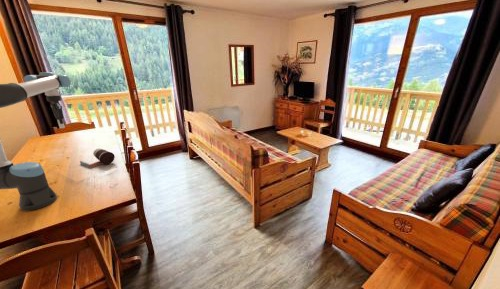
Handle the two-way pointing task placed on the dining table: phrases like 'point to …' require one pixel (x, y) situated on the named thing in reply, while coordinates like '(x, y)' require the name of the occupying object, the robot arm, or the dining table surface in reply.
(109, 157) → the coffee cup
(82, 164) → the keeper tray
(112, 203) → the dining table surface
